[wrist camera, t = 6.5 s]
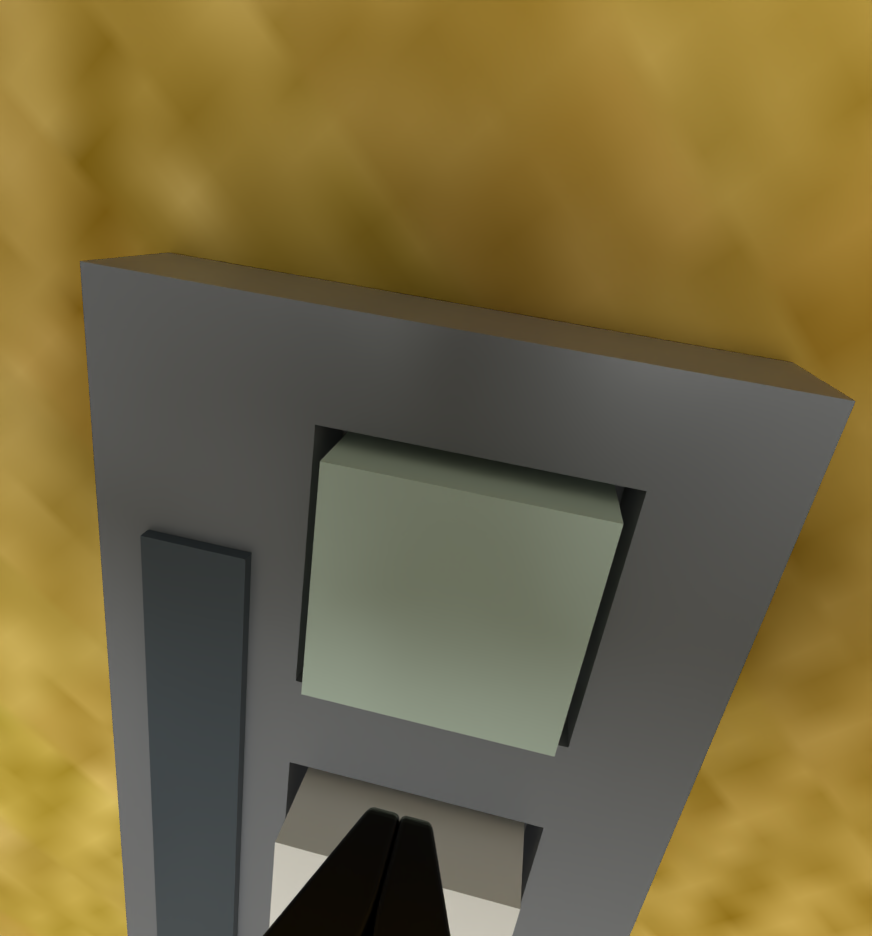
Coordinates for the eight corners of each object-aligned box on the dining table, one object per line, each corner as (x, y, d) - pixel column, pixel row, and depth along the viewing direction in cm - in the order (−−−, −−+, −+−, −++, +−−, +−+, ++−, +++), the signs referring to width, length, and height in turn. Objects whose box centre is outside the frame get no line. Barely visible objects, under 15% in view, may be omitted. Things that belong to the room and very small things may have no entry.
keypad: (182, 990, 26) (133, 1092, 23) (168, 252, 15) (68, 261, 12) (520, 1093, 25) (515, 1216, 22) (793, 362, 13) (863, 406, 10)
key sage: (335, 628, 16) (301, 694, 14) (356, 422, 14) (319, 460, 12) (554, 680, 16) (554, 756, 13) (612, 473, 13) (623, 524, 11)
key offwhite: (299, 897, 19) (265, 988, 16) (311, 758, 17) (275, 842, 14) (486, 950, 18) (476, 1051, 16) (525, 813, 16) (520, 909, 14)
